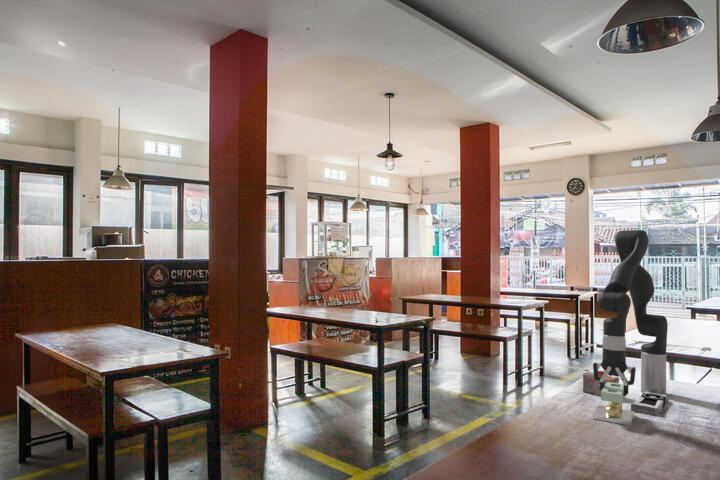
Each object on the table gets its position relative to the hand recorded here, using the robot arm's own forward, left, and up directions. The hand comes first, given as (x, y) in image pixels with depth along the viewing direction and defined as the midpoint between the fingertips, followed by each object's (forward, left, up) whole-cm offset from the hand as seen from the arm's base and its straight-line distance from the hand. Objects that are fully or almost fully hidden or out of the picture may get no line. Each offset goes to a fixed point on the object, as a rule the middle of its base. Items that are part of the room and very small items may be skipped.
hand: (613, 393), depth 179 cm
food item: (-29, -8, -9) cm, 31 cm away
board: (0, 0, -1) cm, 1 cm away
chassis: (0, 0, -8) cm, 8 cm away
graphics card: (-23, +11, -9) cm, 27 cm away
